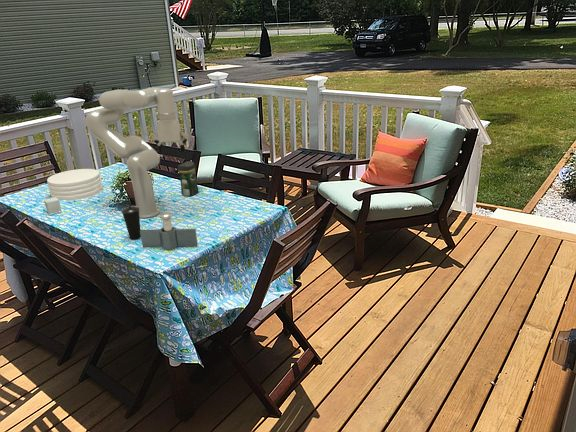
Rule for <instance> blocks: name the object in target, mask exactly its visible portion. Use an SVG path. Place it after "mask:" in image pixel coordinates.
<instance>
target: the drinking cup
mask: <svg viewBox="0 0 576 432" xmlns="http://www.w3.org/2000/svg"><path fill="white" fill-rule="evenodd" d="M126 198H127V204H128V206H126V207H125V208H123V209H121V214H122V216H123V219H124V223H125V226H126V230H127V233H128V237H129V239H130V240H131V241H135V240H140V239H141V235H140V230H141V218H139V208H138V207H134V206H135V205H131V201H130V200H131V199H130V196H129V195H128V196H127V197H126Z"/></svg>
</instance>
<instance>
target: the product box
mask: <svg viewBox="0 0 576 432" xmlns="http://www.w3.org/2000/svg"><path fill="white" fill-rule="evenodd" d="M43 202H44V205H45V206H44V207H45V209H46V213H47V212H48V213H49V214H51V213H55V212H59V211H62V207H61V203H59V200H58V199H57V198H56V197H54V198H51V197H50V198H47V199H44V200H43ZM48 213H47V214H48ZM49 214H48V215H49Z"/></svg>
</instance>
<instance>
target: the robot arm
mask: <svg viewBox="0 0 576 432" xmlns="http://www.w3.org/2000/svg"><path fill="white" fill-rule="evenodd" d="M98 101H99V102H98V103H99V105H100V106H101V107H102V108H98V109H94V110H92V111H91V110H90V112H88V113H87V114H86V116H85V124H86V127H87V129H88V131H89V132H90V134H92V136H94V137H95V138H97V140H99V141H100V142H101V143H103V144H104V145H105V146H106V147H107V148H108V149H110V150H111V151H112V152H113V153H114V154H115V155H116V156H117V157H119V158H120V159H127V160H126V167H127V170H128V173H129V176H130V179H131V183H132V184H131V185H132V190H133V196H134V201H135V205H133V206H134V207H138V208H139V218H140V219H147V218H148V219H149V218H153V217H156V216H158V215H160V214H161V210H160V208H158V207H157V203H156V198H155V190H154V185H153V180H152V177H151V175H150V174H149V173H148V171H150V170H151V169H154V168H155V167H157V166H158V165H160V161H161V158H160V155H164V154H165V149H164V148H165V147H164V144H163V143H179V145H180V146H179V147H180V154H181V155H183V154H184V153H185V152H186V149H185V148H186V147H185V144H186V143H187V142H188V139H189V137H190V135H189V134H188V133H185V132H184V131H182V129H181V125H180V122H179V119H178V118H177V114H176V106H175V98H174V93H173V90H172V88H169V87H168V88H167V87H163V88H161V87H154V86H153V87H147V88H142V89H138V90H132V91H131V90H130V89H126V88H125V89H121V88H120V89H119V88H118V89H114V90H108V91H105V92H103V93H102V94H100V96H99V99H98ZM154 105H156V106H157V113H156V114H155V117H156V118H158V120H157V123H156V125H157V133H155V134H153V135H152V136H151V139H152V140H153V141H154V143H155V145H157V147H158V150H159V153H160V155H159V153H158V152H157V150H155V149H154V148H153V147H152V146H151V145H150V144H149V143H147V142H146V141H145V140H144V139H143V138H141V137H140V136H138V135H130V136H126V137H125V136H123V135H121V133H119V132H118V131H116V130H115V129H113V128H111V127H109V126H110V125H113V124H116V123H119V121H120V120H121V119H122V118H123V115H124V113H125V112H126V110H127V109H142V108H147V107H151V106H154ZM183 137H184V139H183Z"/></svg>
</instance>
